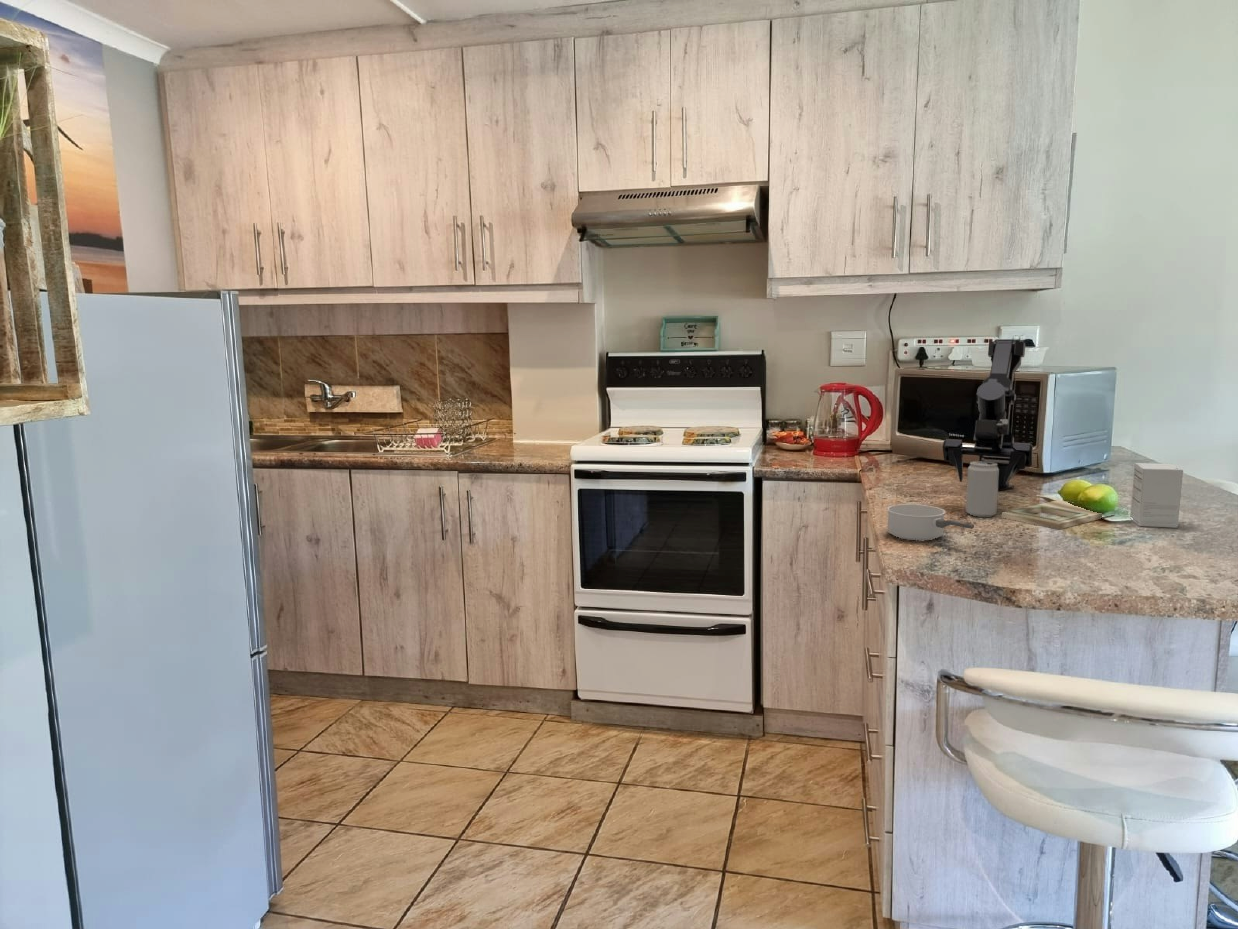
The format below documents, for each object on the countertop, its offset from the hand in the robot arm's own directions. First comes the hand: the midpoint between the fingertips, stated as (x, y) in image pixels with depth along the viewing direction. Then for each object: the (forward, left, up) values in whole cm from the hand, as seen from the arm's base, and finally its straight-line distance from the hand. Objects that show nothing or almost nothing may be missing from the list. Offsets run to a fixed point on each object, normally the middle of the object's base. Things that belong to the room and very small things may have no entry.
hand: (982, 482), depth 184 cm
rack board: (-13, +11, -8) cm, 19 cm away
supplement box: (-22, +26, -8) cm, 35 cm away
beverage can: (0, 0, -8) cm, 8 cm away
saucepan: (+27, +7, -8) cm, 29 cm away
